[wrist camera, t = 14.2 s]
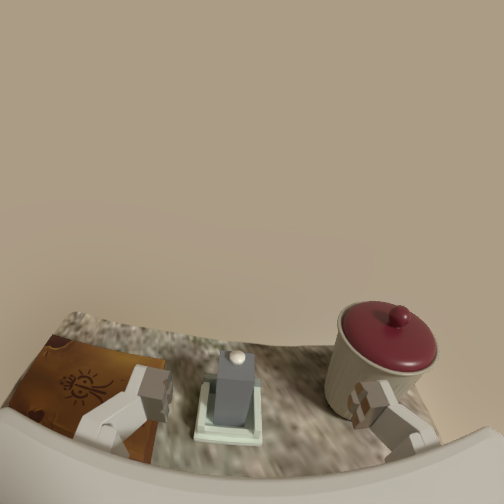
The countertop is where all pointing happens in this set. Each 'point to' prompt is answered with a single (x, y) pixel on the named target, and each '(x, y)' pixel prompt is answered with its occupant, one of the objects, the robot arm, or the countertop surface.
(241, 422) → the grey block with knob
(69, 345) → the diary
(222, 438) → the pocket
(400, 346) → the canister
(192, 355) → the countertop surface
